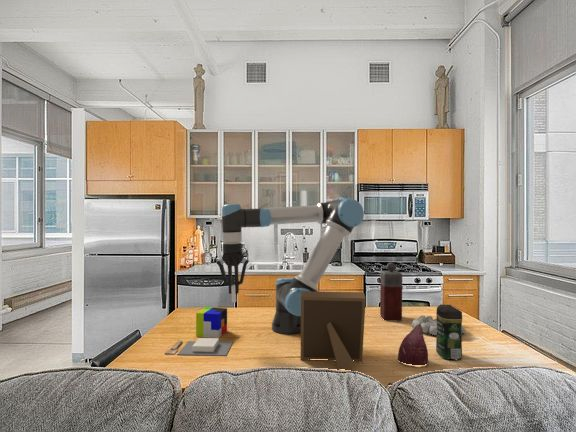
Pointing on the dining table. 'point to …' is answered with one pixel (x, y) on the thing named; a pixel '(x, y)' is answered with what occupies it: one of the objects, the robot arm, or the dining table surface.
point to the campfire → (429, 324)
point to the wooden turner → (173, 348)
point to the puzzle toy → (211, 322)
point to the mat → (219, 351)
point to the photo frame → (332, 326)
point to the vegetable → (414, 348)
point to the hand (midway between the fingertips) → (234, 301)
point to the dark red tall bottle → (391, 294)
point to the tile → (205, 345)
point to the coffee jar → (449, 332)
